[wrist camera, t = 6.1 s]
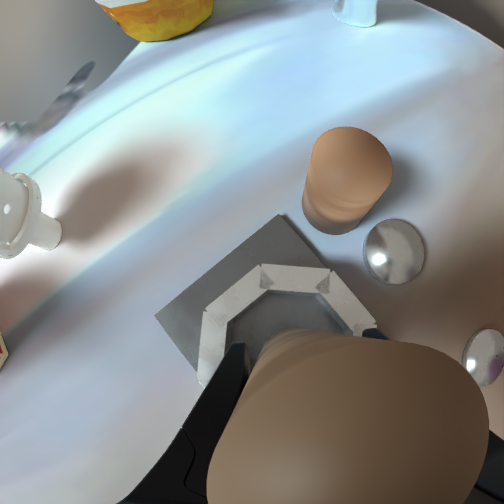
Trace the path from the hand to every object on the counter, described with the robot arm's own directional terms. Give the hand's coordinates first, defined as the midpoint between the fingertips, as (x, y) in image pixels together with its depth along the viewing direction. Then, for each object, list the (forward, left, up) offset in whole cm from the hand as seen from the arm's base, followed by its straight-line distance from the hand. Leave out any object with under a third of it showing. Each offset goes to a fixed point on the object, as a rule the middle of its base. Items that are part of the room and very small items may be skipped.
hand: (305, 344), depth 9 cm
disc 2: (-14, -11, -13) cm, 22 cm away
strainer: (+20, +12, -13) cm, 27 cm away
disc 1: (-1, -10, -13) cm, 17 cm away
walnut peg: (-1, +1, -7) cm, 7 cm away
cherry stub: (+5, -9, -13) cm, 17 cm away
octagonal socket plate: (-1, +1, -13) cm, 13 cm away
